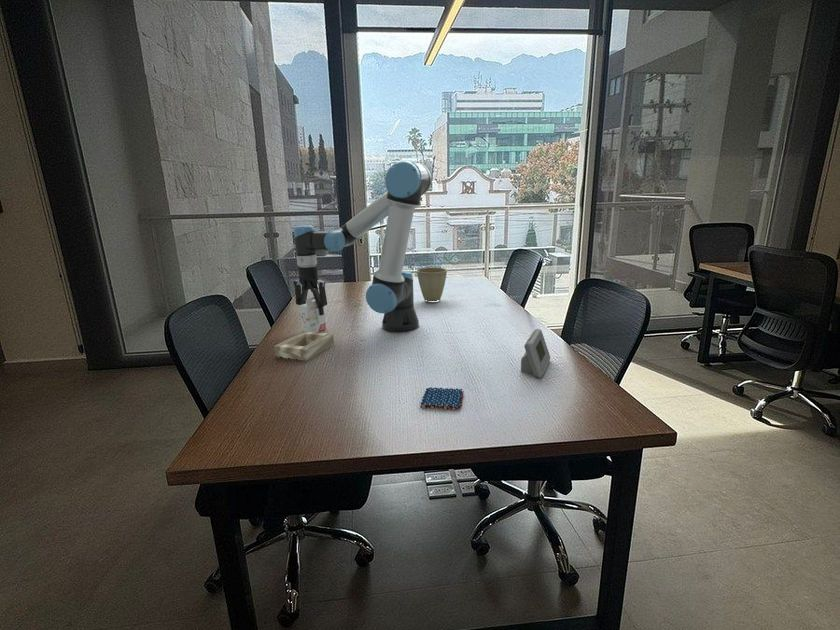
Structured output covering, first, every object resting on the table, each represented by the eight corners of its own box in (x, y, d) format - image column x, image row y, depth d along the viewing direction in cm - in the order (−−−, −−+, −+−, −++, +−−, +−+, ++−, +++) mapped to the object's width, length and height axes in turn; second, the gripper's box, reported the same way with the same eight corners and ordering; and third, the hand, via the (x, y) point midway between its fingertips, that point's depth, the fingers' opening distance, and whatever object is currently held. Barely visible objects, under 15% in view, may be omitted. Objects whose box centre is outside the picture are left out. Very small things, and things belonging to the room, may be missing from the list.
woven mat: (461, 413, 109) (461, 405, 109) (420, 410, 111) (419, 403, 111) (464, 394, 119) (464, 387, 119) (426, 392, 121) (426, 385, 121)
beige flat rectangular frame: (334, 344, 161) (333, 334, 160) (307, 360, 146) (305, 349, 145) (304, 341, 165) (303, 331, 164) (275, 356, 150) (274, 346, 149)
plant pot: (437, 306, 208) (437, 273, 204) (412, 302, 216) (410, 271, 211) (452, 299, 220) (452, 268, 215) (428, 296, 228) (427, 266, 223)
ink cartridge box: (318, 327, 182) (315, 293, 178) (326, 329, 179) (323, 294, 175) (302, 333, 175) (298, 297, 171) (310, 335, 172) (306, 299, 168)
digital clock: (540, 380, 125) (541, 346, 122) (511, 374, 130) (512, 340, 127) (559, 362, 137) (561, 330, 134) (532, 357, 142) (533, 326, 140)
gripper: (281, 266, 169) (288, 323, 176) (322, 268, 163) (328, 326, 169) (293, 263, 176) (299, 317, 183) (333, 264, 169) (338, 321, 176)
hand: (313, 322), depth 176 cm, fingers closed on ink cartridge box, 6 cm apart
